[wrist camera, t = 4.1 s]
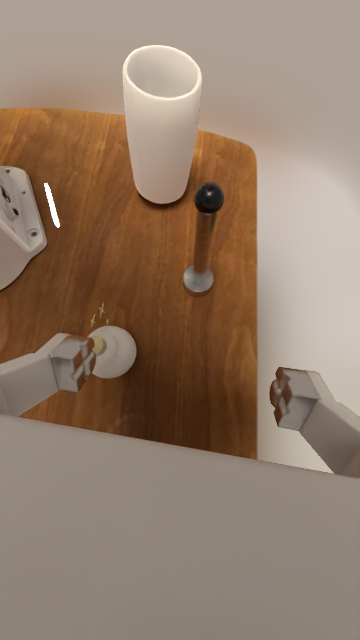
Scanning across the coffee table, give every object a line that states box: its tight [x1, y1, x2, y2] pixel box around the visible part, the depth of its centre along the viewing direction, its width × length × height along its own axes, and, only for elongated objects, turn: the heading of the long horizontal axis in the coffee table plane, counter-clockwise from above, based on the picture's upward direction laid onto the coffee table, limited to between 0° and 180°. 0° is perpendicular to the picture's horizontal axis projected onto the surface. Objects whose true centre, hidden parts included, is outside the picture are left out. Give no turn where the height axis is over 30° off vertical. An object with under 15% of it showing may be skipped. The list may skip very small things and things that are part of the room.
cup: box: [122, 45, 202, 204], centre depth 29 cm, size 8×8×14 cm
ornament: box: [88, 302, 136, 378], centre depth 25 cm, size 6×7×10 cm
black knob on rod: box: [183, 182, 224, 297], centre depth 24 cm, size 4×4×16 cm
